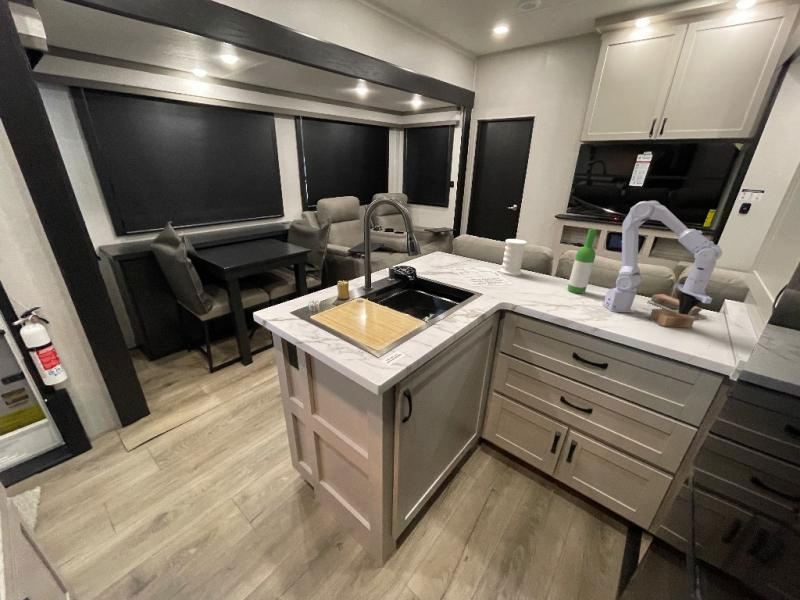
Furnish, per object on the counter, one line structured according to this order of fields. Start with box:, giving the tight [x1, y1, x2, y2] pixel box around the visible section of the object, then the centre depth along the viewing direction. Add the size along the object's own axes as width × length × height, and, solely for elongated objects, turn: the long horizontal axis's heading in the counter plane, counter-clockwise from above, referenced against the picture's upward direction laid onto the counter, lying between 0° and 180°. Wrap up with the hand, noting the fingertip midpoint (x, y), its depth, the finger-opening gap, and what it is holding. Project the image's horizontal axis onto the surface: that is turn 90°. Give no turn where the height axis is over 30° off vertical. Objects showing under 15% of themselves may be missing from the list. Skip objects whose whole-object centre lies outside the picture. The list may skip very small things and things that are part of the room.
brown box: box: [649, 308, 696, 329], centre depth 121 cm, size 10×4×8 cm
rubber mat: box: [646, 315, 664, 327], centre depth 123 cm, size 12×8×1 cm, turn 86°
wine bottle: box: [567, 228, 597, 295], centre depth 145 cm, size 8×8×30 cm
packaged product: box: [646, 293, 708, 320], centre depth 133 cm, size 18×5×10 cm
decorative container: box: [499, 238, 528, 277], centre depth 172 cm, size 12×12×18 cm
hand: (682, 313), depth 116 cm, fingers closed
